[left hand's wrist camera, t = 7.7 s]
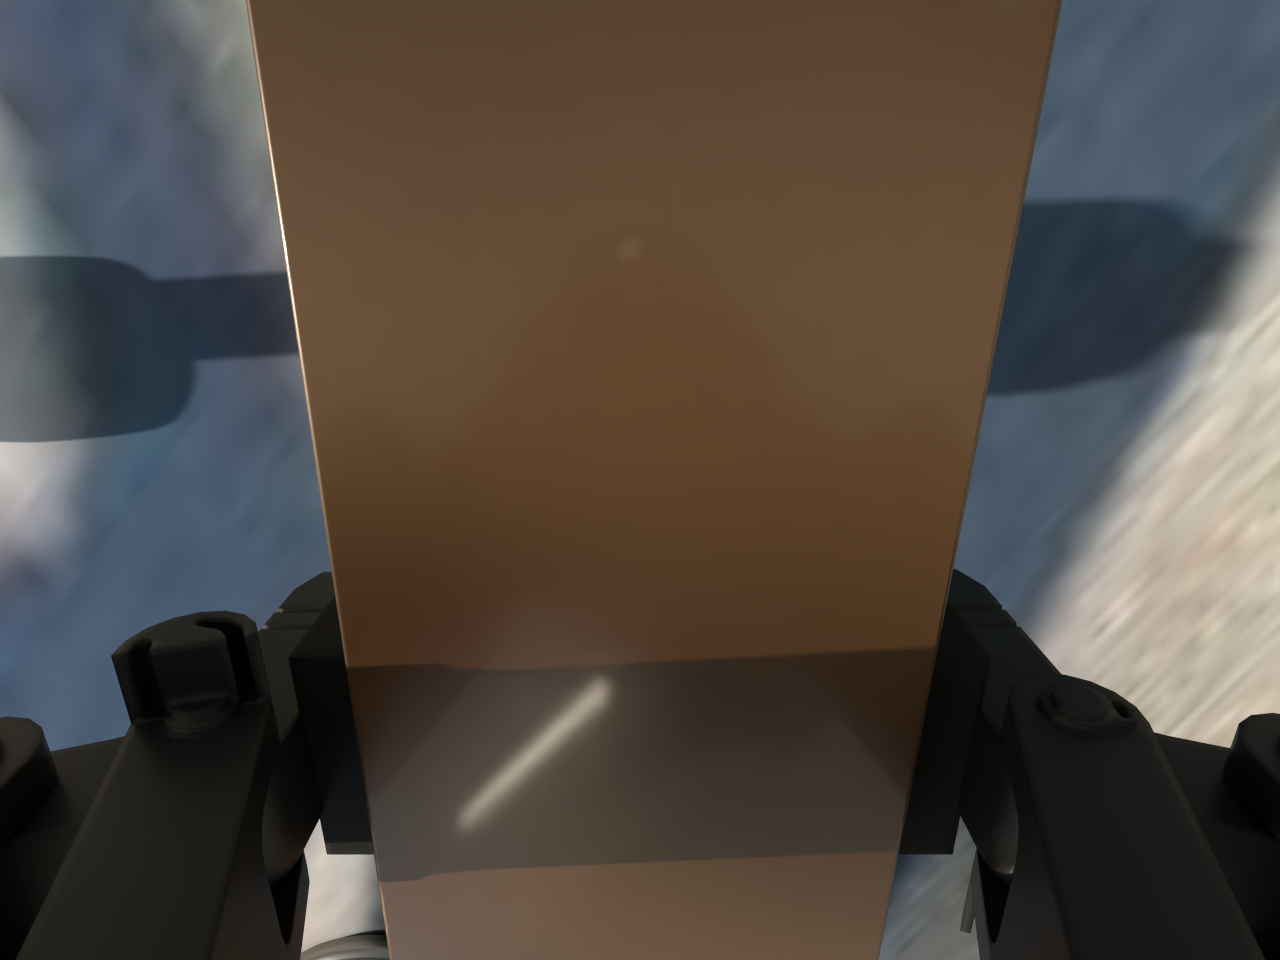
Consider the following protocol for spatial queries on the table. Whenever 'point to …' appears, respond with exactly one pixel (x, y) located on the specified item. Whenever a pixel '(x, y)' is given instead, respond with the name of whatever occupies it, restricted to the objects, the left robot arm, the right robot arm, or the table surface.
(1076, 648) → the table surface
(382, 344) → the brown wooden beam
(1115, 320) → the table surface
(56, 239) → the table surface
